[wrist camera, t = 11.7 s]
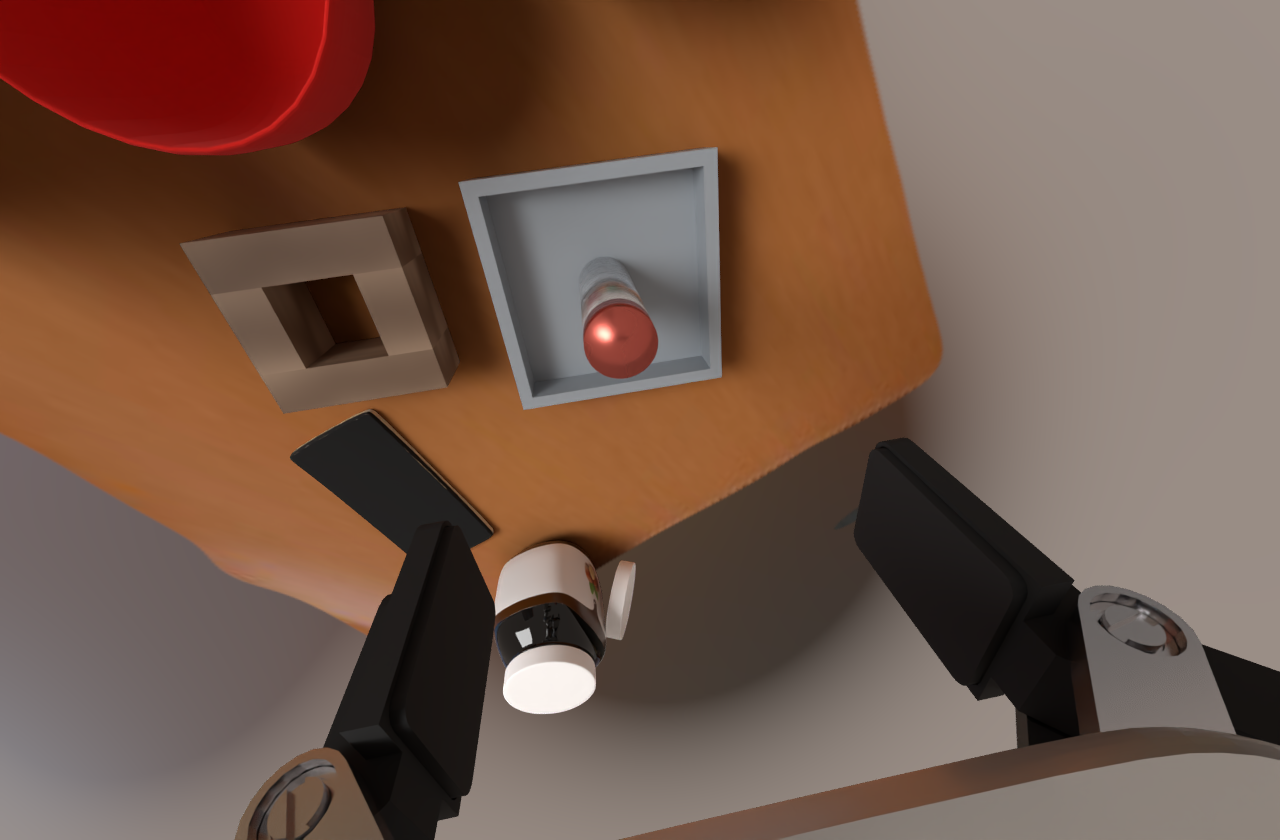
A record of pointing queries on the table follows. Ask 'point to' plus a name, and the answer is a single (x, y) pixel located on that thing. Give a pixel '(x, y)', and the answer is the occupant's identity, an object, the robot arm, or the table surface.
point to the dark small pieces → (386, 480)
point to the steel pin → (615, 321)
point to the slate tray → (588, 229)
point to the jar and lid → (556, 625)
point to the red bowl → (190, 67)
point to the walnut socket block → (292, 325)
